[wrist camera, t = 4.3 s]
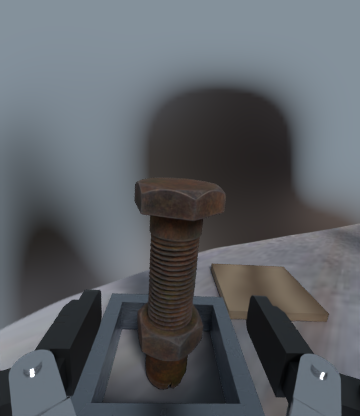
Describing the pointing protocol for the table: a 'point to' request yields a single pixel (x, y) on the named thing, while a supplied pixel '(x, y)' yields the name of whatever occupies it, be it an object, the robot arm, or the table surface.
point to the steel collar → (166, 412)
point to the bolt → (173, 272)
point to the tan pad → (265, 291)
